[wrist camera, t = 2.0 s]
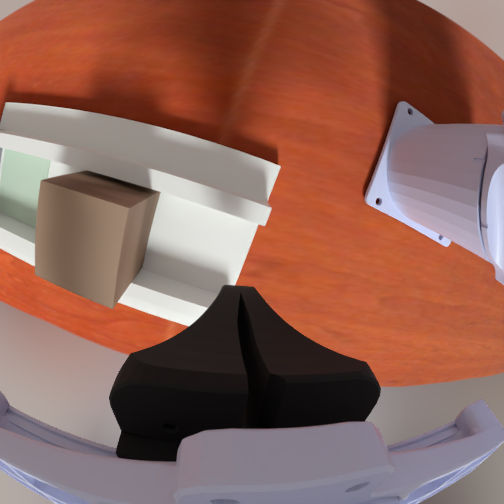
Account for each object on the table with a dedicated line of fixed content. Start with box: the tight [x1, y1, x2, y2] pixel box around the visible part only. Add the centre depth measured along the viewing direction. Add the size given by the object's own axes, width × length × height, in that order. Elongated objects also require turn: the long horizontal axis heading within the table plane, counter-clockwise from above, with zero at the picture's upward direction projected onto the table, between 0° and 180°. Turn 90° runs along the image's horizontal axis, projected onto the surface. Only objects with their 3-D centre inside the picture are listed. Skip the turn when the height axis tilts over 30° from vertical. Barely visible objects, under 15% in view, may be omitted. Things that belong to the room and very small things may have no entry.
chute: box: [0, 102, 281, 326], centre depth 14 cm, size 22×12×4 cm, turn 70°
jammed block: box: [35, 170, 161, 309], centre depth 13 cm, size 5×5×5 cm
